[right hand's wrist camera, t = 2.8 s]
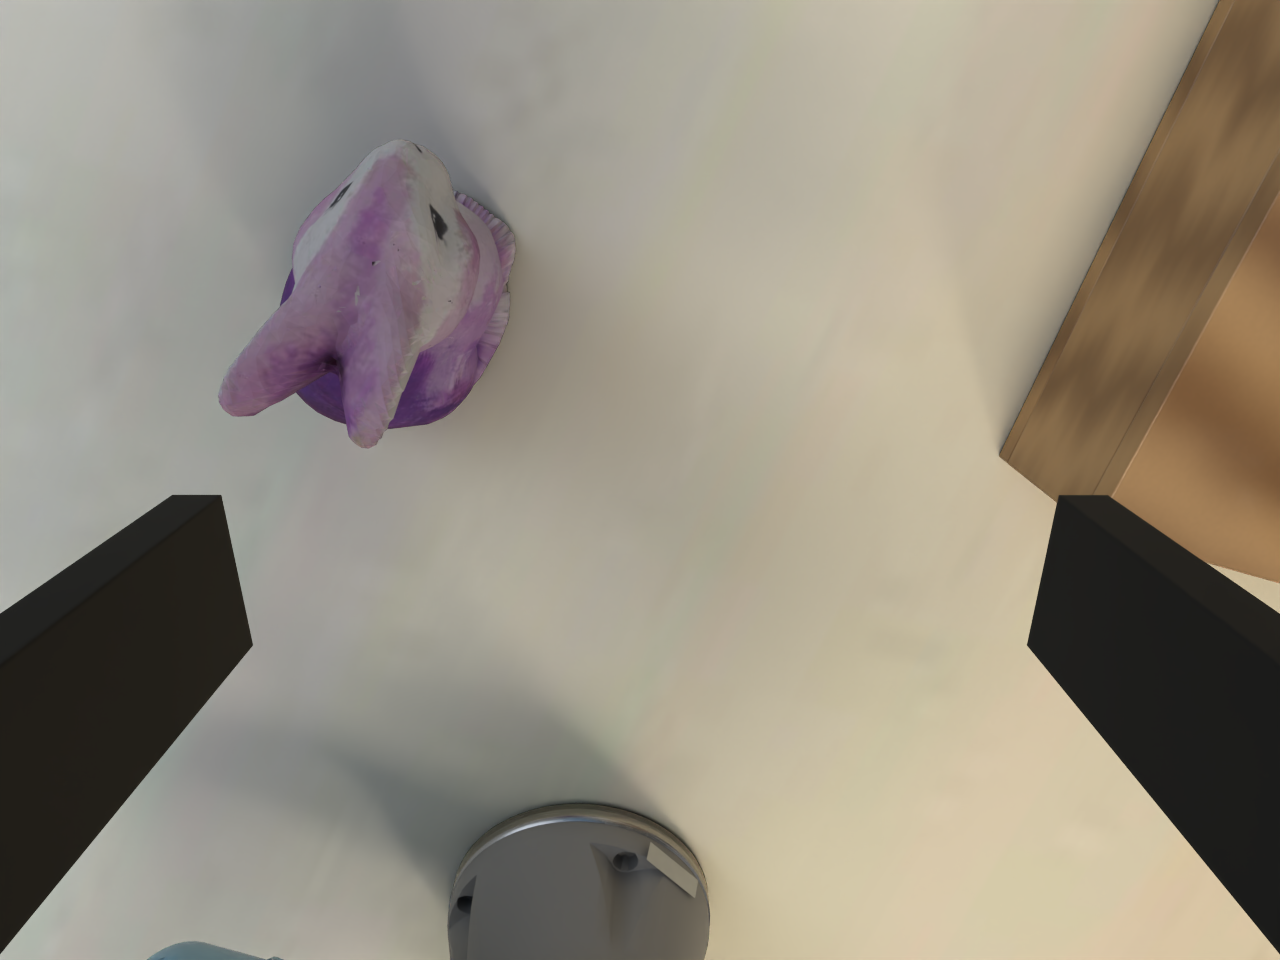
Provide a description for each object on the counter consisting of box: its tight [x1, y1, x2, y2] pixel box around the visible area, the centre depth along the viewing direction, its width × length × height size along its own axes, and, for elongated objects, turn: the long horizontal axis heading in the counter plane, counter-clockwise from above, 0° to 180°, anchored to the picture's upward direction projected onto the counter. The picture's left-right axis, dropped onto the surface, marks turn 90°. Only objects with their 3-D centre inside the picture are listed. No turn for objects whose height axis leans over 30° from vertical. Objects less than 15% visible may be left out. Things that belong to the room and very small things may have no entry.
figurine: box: [218, 139, 516, 448], centre depth 27 cm, size 9×10×15 cm
